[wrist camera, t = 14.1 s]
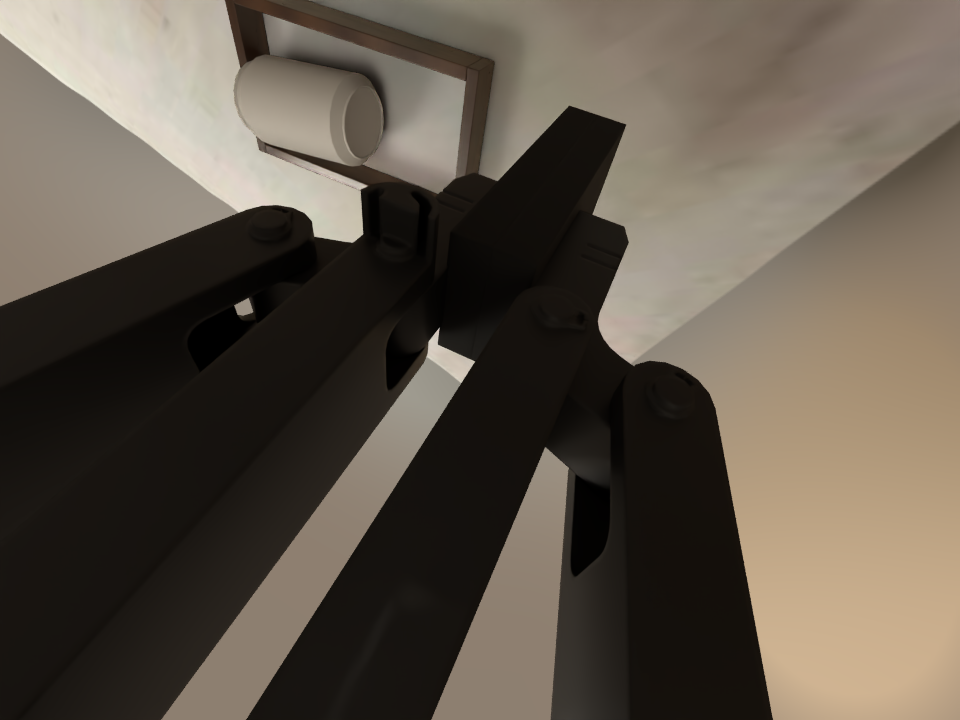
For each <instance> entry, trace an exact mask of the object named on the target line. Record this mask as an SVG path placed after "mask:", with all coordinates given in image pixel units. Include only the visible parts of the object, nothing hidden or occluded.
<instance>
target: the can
mask: <svg viewBox="0 0 960 720" xmlns="http://www.w3.org/2000/svg"><path fill="white" fill-rule="evenodd" d="M234 101H235V106H236V109H237V112H238V115H239V117H240V118H241V120H242V121H243V123H244V125H245V126H247V127H248V128H249V129H250V130H251V131H252V132H253V133H254V134H255V135H256V136H257V137H258V138H259V139H260V140H261V141H263V142H266V143H268V144H270V145H274V146H278V147H281V148H285V149H289V150H292V151H296V152H300V153H304V154H307V155H311V156H315V157H318V158H322V159H326V160H329V161H333V162H337V163H341V164H344V165H348V166H360V165H361V164H363V163H364V162H366V161H367V160H368V158H369V157H371V156H372V155H373V154H374V152H375V151H376V150H377V148H378V146H379V143H380V141H381V137H382V133H383V123H384V116H383V108H382V104H381V101H380V98H379V96H378V95H377V93H376V90H375V88H374V87H373V85H372V83H371V82H370V80H369V79H368V78H366V77H365V76H364V75H363V74H359V73H354V72H349V71H344V70H340V69H335V68H330V67H325V66H320V65H316V64H311V63H306V62H301V61H296V60H292V59H287V58H282V57H277V56H272V55H266V54H265V55H262V56H259V57H256V58H255V59H254V60H253V61H250V62H247V63H245V64H244V65H243V66H242V67H241V68H240V70H239V72H238V74H237V76H236V78H235V84H234Z"/></svg>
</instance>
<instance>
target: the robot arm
mask: <svg viewBox="0 0 960 720" xmlns="http://www.w3.org/2000/svg"><path fill="white" fill-rule="evenodd" d="M625 127H626V124H623V123H620V122H617V121H614V120H611V119H608V118H605V117H602V116H599V115H596V114H593V113H590V112H587V111H584V110H581V109H578V108H575V107H572V106H569V107H568V108H567V109H566V110H565V111H564V112H563V113H562V114H561V115H560V116H559V117H558V118H557V119H556V120H555V121H554V122H553V123H552V125H551V126H550V127H549V128H548V129H547V130H546V131H545V132H544V133H543V134H542V135H541V136H540V137H539V138H538V139H537V140H536V141H535V142H534V144H533V145H532V146H531V147H530V148H529V149H528V150H527V151H526V152H525V153H524V154H523V155H522V156H521V157H520V158H519V159H518V160H517V162H516V163H515V164H514V165H513V166H512V167H511V168H510V169H509V170H508V171H507V172H506V173H505V174H504V175H503V176H502V177H501V178H500V179H499V181H495V180H493V179H490V178H487V177H485V176H482V175H479V174H477V173H471V174H468V175H465V176H462V177H459V178H456V179H454V180H453V181H452V182H451V183H450V184H449V185H448V186H447V187H446V188H445V189H443V192H440V193H439V194H438V195H437V196H436V197H434V196H433V195H432V194H431V193H430V192H428V191H426V190H424V189H423V188H421V187H419V186H415V185H412V184H408V183H404V182H382V183H376V184H372V185H370V186H367V187H365V188H363V189H361V201H362V218H363V235H362V236H361V237H360V238H358V239H357V240H356V241H355V242H354V243H349V242H342V241H336V240H330V239H324V238H318V237H314V233H313V227H312V221H311V220H310V219H309V218H308V217H307V216H306V214H305V213H303V212H300V211H298V210H296V209H294V208H290V207H284V206H279V205H272V206H260V207H256V208H252V209H248V210H245V211H243V212H240V213H237V214H235V215H232V216H230V217H228V218H225V219H222V220H220V221H217V222H214V223H212V224H209V225H207V226H204V227H202V228H200V229H197V230H194V231H191V232H189V233H186V234H184V235H181V236H179V237H176V238H174V239H171V240H168V241H166V242H164V243H161V244H158V245H156V246H153V247H151V248H148V249H145V250H143V251H140V252H138V253H135V254H133V255H130V256H128V257H125V258H122V259H120V260H118V261H115V262H112V263H110V264H107V265H105V266H102V267H100V268H97V269H95V270H92V271H89V272H87V273H84V274H82V275H79V276H77V277H74V278H72V279H69V280H66V281H64V282H61V283H59V284H56V285H54V286H51V287H48V288H46V289H43V290H41V291H38V292H36V293H33V294H31V295H28V296H26V297H23V298H20V299H18V300H15V301H13V302H10V303H8V304H5V305H3V306H0V720H161V719H162V718H163V716H164V715H165V714H166V712H167V711H168V710H169V708H170V707H171V705H172V704H173V703H174V701H175V700H176V699H177V697H178V696H179V695H180V693H181V692H182V691H183V689H184V688H185V686H186V685H187V684H188V682H189V681H190V680H191V678H192V677H193V676H194V674H195V673H196V672H197V670H198V669H199V667H200V666H201V665H202V663H203V662H204V661H205V659H206V658H207V656H208V655H209V654H210V652H211V651H212V650H213V648H214V647H215V646H216V644H217V643H218V642H219V640H220V639H221V637H222V636H223V635H224V633H225V632H226V631H227V629H228V628H229V626H230V625H231V624H232V623H233V621H234V620H235V619H236V617H237V616H238V614H239V613H240V612H241V610H242V609H243V608H244V606H245V605H246V604H247V602H248V601H249V600H250V598H251V597H252V595H253V594H254V593H255V591H256V590H257V589H258V587H259V586H260V584H261V583H262V582H263V581H264V579H265V578H266V576H267V575H268V574H269V572H270V571H271V570H272V568H273V567H274V566H275V564H276V563H277V561H278V560H279V559H280V557H281V556H282V555H283V553H284V552H285V551H286V549H287V548H288V546H289V545H290V544H291V542H292V541H293V540H294V538H295V537H296V536H297V534H298V533H299V532H300V530H301V529H302V528H303V526H304V525H305V523H306V522H307V521H308V519H309V518H310V517H311V515H312V514H313V513H314V511H315V510H316V508H317V507H318V506H319V504H320V503H321V502H322V500H323V499H324V497H325V496H326V495H327V494H328V492H329V491H330V489H331V488H332V487H333V485H334V484H335V483H336V481H337V480H338V479H339V477H340V476H341V475H342V473H343V472H344V470H345V469H346V468H347V466H348V465H349V464H350V462H351V461H352V459H353V458H354V457H355V456H356V454H357V453H358V451H359V450H360V449H361V447H362V446H363V445H364V443H365V442H366V441H367V439H368V438H369V436H370V435H371V434H372V432H373V431H374V430H375V428H376V427H377V426H378V424H379V423H380V422H381V420H382V419H383V417H384V416H385V415H386V413H387V412H388V411H389V409H390V407H392V405H393V404H394V402H395V401H396V399H397V398H398V397H399V395H400V394H401V393H402V392H403V390H404V389H405V388H406V386H407V385H408V384H409V382H410V381H411V379H412V378H413V377H414V375H415V374H416V373H417V371H418V370H419V368H420V367H421V366H422V364H423V363H424V361H425V359H426V356H427V354H428V342H429V340H430V339H431V338H432V336H433V335H434V334H435V332H436V331H437V330H438V329H439V327H440V329H439V338H438V345H440V346H442V347H444V348H447V349H449V350H451V351H453V352H456V353H458V354H460V355H462V356H464V357H467V358H469V359H471V360H473V361H475V363H474V364H473V366H472V367H471V369H470V371H469V372H468V374H467V375H466V377H465V378H464V380H463V382H462V383H461V385H460V386H459V388H458V390H457V391H456V393H455V394H454V396H453V397H452V399H451V400H450V402H449V403H448V405H447V407H446V408H445V410H444V411H443V413H442V414H441V416H440V418H439V419H438V421H437V422H436V424H435V426H434V427H433V428H432V430H431V432H430V433H429V435H428V436H427V438H426V439H425V441H424V443H423V444H422V446H421V448H420V449H419V450H418V452H417V453H416V455H415V457H414V458H413V460H412V461H411V463H410V464H409V466H408V468H407V469H406V471H405V472H404V474H403V475H402V477H401V479H400V480H399V482H398V483H397V485H396V487H395V488H394V489H393V491H392V493H391V494H390V496H389V497H388V499H387V500H386V502H385V504H384V505H383V507H382V508H381V510H380V512H379V513H378V515H377V516H376V518H375V519H374V521H373V522H372V524H371V525H370V527H369V529H368V530H367V532H366V533H365V535H364V536H363V538H362V539H361V541H360V543H359V544H358V546H357V547H356V549H355V550H354V552H353V554H352V555H351V557H350V558H349V560H348V562H347V563H346V565H345V566H344V568H343V569H342V571H341V572H340V574H339V576H338V577H337V579H336V580H335V582H334V583H333V585H332V586H331V588H330V590H329V591H328V593H327V594H326V596H325V598H324V599H323V600H322V602H321V604H320V605H319V607H318V608H317V610H316V611H315V613H314V615H313V616H312V618H311V619H310V621H309V622H308V624H307V625H306V627H305V629H304V630H303V632H302V633H301V635H300V636H299V638H298V640H297V641H296V643H295V644H294V646H293V647H292V649H291V651H290V652H289V654H288V655H287V657H286V658H285V660H284V661H283V663H282V665H281V666H280V668H279V669H278V671H277V672H276V674H275V676H274V677H273V679H272V680H271V682H270V683H269V685H268V686H267V688H266V690H265V691H264V693H263V694H262V696H261V698H260V699H259V701H258V702H257V704H256V705H255V707H254V708H253V710H252V711H251V713H250V715H249V716H248V718H247V719H246V720H431V719H432V717H433V714H434V712H435V709H436V707H437V705H438V702H439V700H440V697H441V695H442V693H443V690H444V688H445V685H446V683H447V681H448V678H449V676H450V673H451V671H452V668H453V666H454V664H455V661H456V659H457V657H458V654H459V652H460V649H461V647H462V645H463V642H464V639H465V638H466V635H467V633H468V630H469V628H470V625H471V623H472V621H473V618H474V616H475V614H476V611H477V609H478V606H479V604H480V602H481V599H482V597H483V594H484V592H485V590H486V587H487V585H488V582H489V580H490V578H491V575H492V573H493V570H494V568H495V566H496V563H497V561H498V558H499V556H500V554H501V551H502V549H503V547H504V544H505V542H506V539H507V537H508V535H509V532H510V530H511V527H512V525H513V522H514V520H515V518H516V515H517V513H518V511H519V508H520V506H521V503H522V501H523V499H524V496H525V494H526V491H527V489H528V487H529V484H530V482H531V479H532V477H533V475H534V472H535V470H536V467H537V465H538V463H539V460H540V458H541V456H542V453H543V451H544V448H545V447H546V448H547V449H549V450H550V451H551V452H552V453H553V454H554V455H555V456H556V457H557V458H558V459H560V460H561V461H562V462H563V463H564V464H565V465H566V466H568V467H569V470H568V483H567V497H566V512H565V525H564V539H563V553H562V568H561V582H560V596H559V597H560V598H559V610H558V625H557V639H556V654H555V668H554V681H553V696H552V709H551V710H552V711H551V720H773V718H772V713H771V707H770V702H769V696H768V691H767V686H766V680H765V675H764V669H763V664H762V658H761V653H760V647H759V642H758V637H757V632H756V626H755V620H754V615H753V609H752V605H751V599H750V594H749V588H748V582H747V577H746V572H745V566H744V561H743V555H742V550H741V545H740V539H739V534H738V528H737V523H736V518H735V512H734V507H733V501H732V496H731V490H730V485H729V480H728V474H727V469H726V463H725V458H724V452H723V447H722V442H721V436H720V431H719V425H718V420H717V415H716V409H715V407H714V404H713V401H712V399H711V396H710V394H709V392H708V391H707V390H706V389H705V388H704V387H703V385H702V384H701V383H700V382H699V381H698V380H697V379H696V378H694V377H693V376H692V375H690V374H689V373H687V372H686V371H684V370H683V369H681V368H679V367H676V366H674V365H671V364H668V363H666V362H655V361H647V362H644V363H640V364H636V365H635V366H633V365H631V364H630V363H628V362H627V361H626V360H624V359H623V358H622V357H620V356H619V355H618V354H617V353H616V352H615V351H613V350H612V349H611V348H610V347H609V345H608V344H607V343H606V342H605V340H604V339H603V337H602V335H601V333H600V331H599V326H598V317H599V313H600V310H601V308H602V305H603V303H604V301H605V298H606V296H607V293H608V291H609V289H610V286H611V284H612V281H613V279H614V277H615V274H616V272H617V269H618V267H619V265H620V262H621V260H622V257H623V255H624V253H625V250H626V248H627V245H628V243H629V242H628V238H627V235H626V231H625V227H624V226H621V225H618V224H616V223H613V222H610V221H608V220H605V219H602V218H600V217H597V216H594V215H592V214H593V211H594V209H595V206H596V203H597V201H598V198H599V195H600V193H601V190H602V188H603V185H604V182H605V180H606V177H607V174H608V172H609V169H610V166H611V164H612V161H613V158H614V156H615V153H616V151H617V148H618V145H619V143H620V140H621V137H622V135H623V132H624V129H625ZM247 298H249V300H250V303H251V306H252V309H253V313H251V314H248V315H244V316H241V315H237V312H236V309H235V307H234V305H236V304H238V303H239V302H241V301H243V300H245V299H247Z"/></svg>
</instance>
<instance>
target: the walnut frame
mask: <svg viewBox="0 0 960 720" xmlns="http://www.w3.org/2000/svg"><path fill="white" fill-rule="evenodd" d="M225 2H226V7H227V11H228V15H229V20H230V24H231V29H232V33H233V37H234V42H235V46H236V50H237V55H238V59H239V64H240V68H241V67H242V66H243V65H244V64H245V63H247V62H250V61H253V60H254V59H255V58H256V57H259V56H262V55H265V54H266V55H269V49H268V44H267V38H266V33H265V27H264V22H263V16H262V13H265V14H268V15H271V16H274V17H277V18H280V19H283V20H286V21H289V22H292V23H295V24H298V25H301V26H304V27H307V28H310V29H313V30H316V31H319V32H322V33H324V34H327V35H330V36H333V37H336V38H339V39H342V40H345V41H348V42H351V43H354V44H357V45H360V46H363V47H366V48H369V49H372V50H375V51H378V52H381V53H384V54H387V55H390V56H393V57H396V58H399V59H402V60H405V61H408V62H411V63H413V64H416V65H419V66H422V67H425V68H428V69H431V70H434V71H437V72H440V73H443V74H446V75H449V76H452V77H455V78H458V79H461V80H464V81H466V87H465V96H464V105H463V114H462V123H461V133H460V142H459V151H458V160H457V169H456V178H459V177H462V176H465V175H468V174H471V173H477V174H478V170H479V163H480V156H481V149H482V143H483V136H484V129H485V122H486V116H487V109H488V102H489V96H490V89H491V82H492V75H493V69H494V61H492V60H489V59H486V58H482V57H480V56H476V55H473V54H470V53H467V52H464V51H461V50H458V49H455V48H452V47H449V46H446V45H443V44H440V43H436V42H433V41H430V40H427V39H424V38H421V37H418V36H415V35H412V34H409V33H406V32H403V31H400V30H396V29H393V28H390V27H387V26H384V25H381V24H378V23H375V22H372V21H369V20H366V19H363V18H360V17H356V16H353V15H350V14H347V13H344V12H341V11H338V10H335V9H332V8H329V7H326V6H323V5H320V4H317V3H313V2H310V1H307V0H225ZM256 138H257V142H258V147H259V150H260V151H262V152H265V153H268V154H270V155H273V156H275V157H278V158H280V159H283V160H285V161H288V162H290V163H293V164H295V165H298V166H300V167H303V168H305V169H308V170H310V171H313V172H315V173H318V174H320V175H323V176H325V177H328V178H330V179H333V180H335V181H338V182H340V183H343V184H345V185H348V186H350V187H353V188H355V189H358V190H360V191H361V189H363V188H365V187H367V186H370V185H372V184H376V183H382V182H404V183H407V182H405V181H402V180H399V179H397V178H394V177H392V176H389V175H387V174H384V173H381V172H379V171H376V170H374V169H371V168H369V167H366V166H363V165H360V166H348V165H344V164H341V163H337V162H333V161H329V160H326V159H322V158H318V157H315V156H311V155H307V154H304V153H300V152H296V151H292V150H289V149H285V148H281V147H278V146H274V145H270V144H268V143H266V142H263V141H261V140H260V139H259V138H258V137H257V136H256ZM456 178H455V179H456ZM408 184H410V183H408ZM424 190H425V189H424ZM426 191H428V190H426ZM428 192H430V191H428ZM430 193H431V194H432V195H433V196H434V197H436V196H437V195H438V194H435V193H433V192H430Z"/></svg>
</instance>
